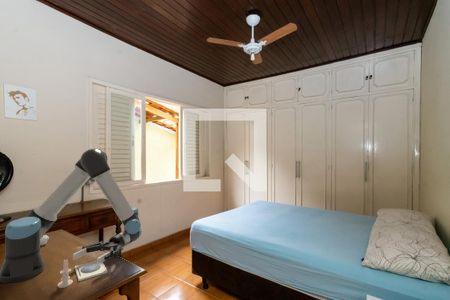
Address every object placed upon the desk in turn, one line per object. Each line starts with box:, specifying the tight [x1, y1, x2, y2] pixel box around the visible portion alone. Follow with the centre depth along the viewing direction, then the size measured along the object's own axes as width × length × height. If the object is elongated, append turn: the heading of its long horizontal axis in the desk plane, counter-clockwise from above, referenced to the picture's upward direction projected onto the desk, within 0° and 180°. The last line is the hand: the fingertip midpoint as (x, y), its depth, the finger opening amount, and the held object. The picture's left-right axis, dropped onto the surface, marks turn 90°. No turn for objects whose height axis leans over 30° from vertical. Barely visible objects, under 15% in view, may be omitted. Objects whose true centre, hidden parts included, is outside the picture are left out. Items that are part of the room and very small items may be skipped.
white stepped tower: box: [57, 258, 74, 289], centre depth 92 cm, size 5×5×10 cm
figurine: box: [40, 234, 50, 246], centre depth 130 cm, size 7×9×15 cm
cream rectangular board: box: [74, 259, 109, 282], centre depth 103 cm, size 14×11×1 cm
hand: (85, 259), depth 101 cm, fingers open, 13 cm apart
